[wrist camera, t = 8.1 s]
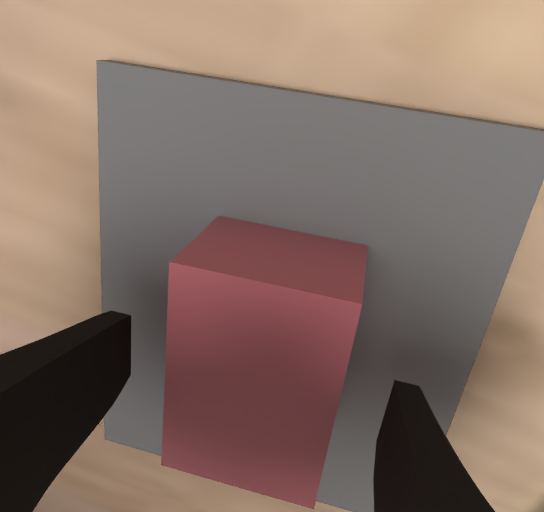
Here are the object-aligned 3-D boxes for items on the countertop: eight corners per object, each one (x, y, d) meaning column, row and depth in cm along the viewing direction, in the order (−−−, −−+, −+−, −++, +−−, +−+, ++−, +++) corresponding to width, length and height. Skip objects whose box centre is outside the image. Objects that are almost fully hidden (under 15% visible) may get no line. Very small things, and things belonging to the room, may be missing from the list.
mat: (409, 513, 17) (410, 528, 17) (113, 428, 19) (104, 439, 19) (552, 130, 12) (560, 134, 11) (108, 60, 13) (96, 60, 13)
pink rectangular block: (368, 245, 13) (362, 304, 10) (328, 419, 16) (313, 509, 13) (218, 215, 14) (168, 262, 11) (204, 387, 16) (161, 464, 13)
